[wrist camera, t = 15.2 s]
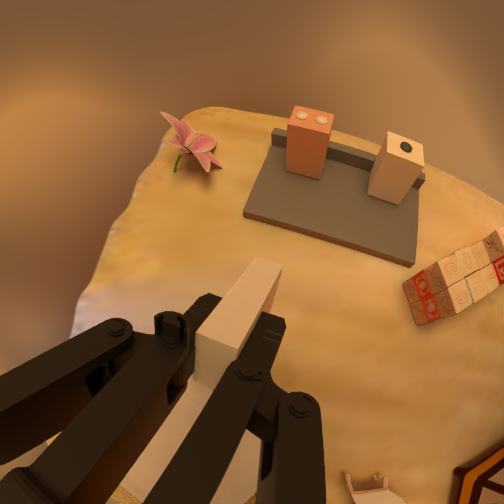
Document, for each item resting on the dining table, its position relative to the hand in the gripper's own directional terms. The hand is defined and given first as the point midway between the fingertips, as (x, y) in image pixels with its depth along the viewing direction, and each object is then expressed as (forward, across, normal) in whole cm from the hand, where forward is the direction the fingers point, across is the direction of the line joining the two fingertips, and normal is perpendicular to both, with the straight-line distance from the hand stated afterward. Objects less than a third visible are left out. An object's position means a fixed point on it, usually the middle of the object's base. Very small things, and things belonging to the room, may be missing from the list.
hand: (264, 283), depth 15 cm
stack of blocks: (+23, +25, -4) cm, 34 cm away
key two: (+27, -2, +4) cm, 28 cm away
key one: (+28, +10, +4) cm, 30 cm away
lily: (+27, -19, +1) cm, 33 cm away
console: (+27, +4, +1) cm, 27 cm away
